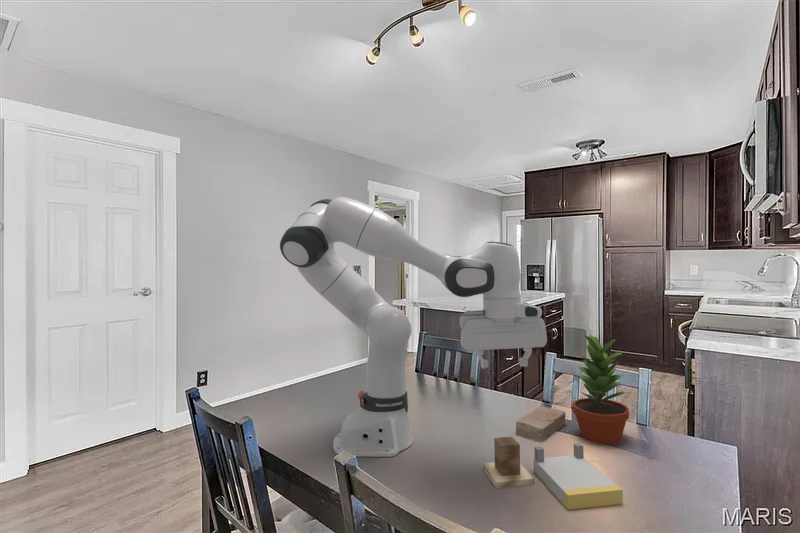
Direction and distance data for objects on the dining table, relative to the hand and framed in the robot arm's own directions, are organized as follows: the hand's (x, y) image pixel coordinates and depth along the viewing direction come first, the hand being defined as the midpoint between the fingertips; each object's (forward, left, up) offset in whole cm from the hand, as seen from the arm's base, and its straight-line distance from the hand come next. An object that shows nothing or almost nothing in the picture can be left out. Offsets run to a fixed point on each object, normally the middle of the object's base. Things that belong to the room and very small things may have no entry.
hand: (504, 367), depth 102 cm
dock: (+13, -9, -25) cm, 30 cm away
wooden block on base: (0, -2, -26) cm, 26 cm away
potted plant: (+33, +14, -26) cm, 45 cm away
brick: (+19, +22, -26) cm, 39 cm away
